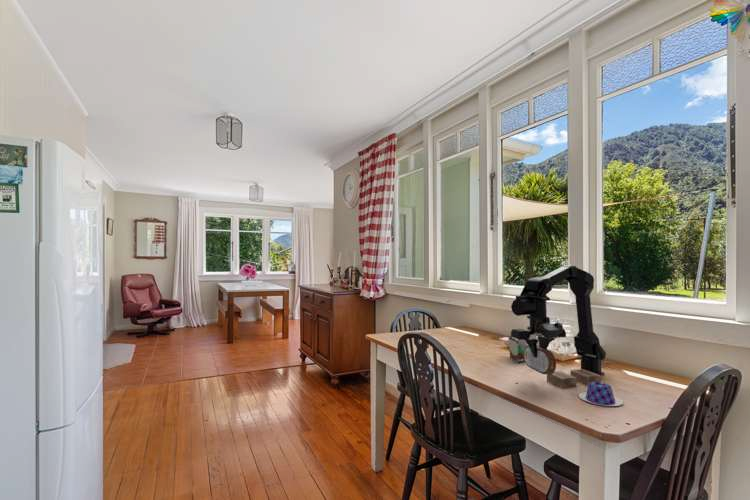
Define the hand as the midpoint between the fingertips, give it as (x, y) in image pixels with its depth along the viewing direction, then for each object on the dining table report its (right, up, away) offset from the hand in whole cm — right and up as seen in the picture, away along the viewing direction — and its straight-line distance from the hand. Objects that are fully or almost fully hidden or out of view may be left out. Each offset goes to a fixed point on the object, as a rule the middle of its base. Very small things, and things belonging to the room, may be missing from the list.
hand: (538, 357), depth 131 cm
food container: (+6, -11, +33) cm, 35 cm away
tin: (-1, -5, 0) cm, 5 cm away
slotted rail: (+14, -10, +3) cm, 17 cm away
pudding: (+13, -10, -15) cm, 22 cm away
